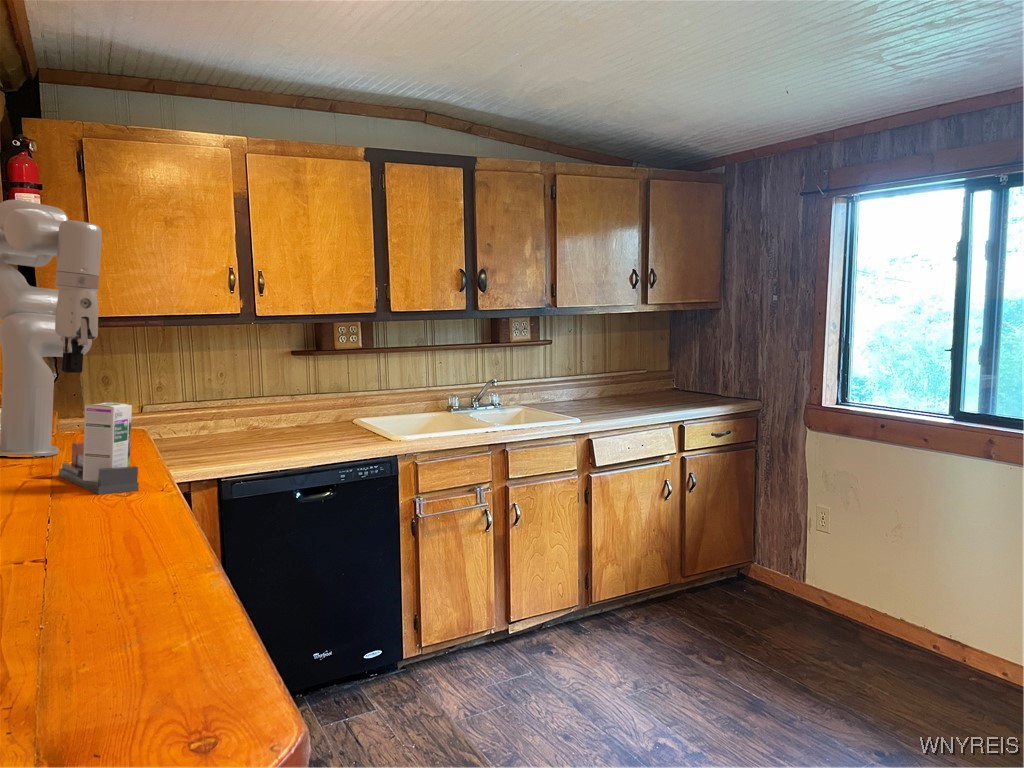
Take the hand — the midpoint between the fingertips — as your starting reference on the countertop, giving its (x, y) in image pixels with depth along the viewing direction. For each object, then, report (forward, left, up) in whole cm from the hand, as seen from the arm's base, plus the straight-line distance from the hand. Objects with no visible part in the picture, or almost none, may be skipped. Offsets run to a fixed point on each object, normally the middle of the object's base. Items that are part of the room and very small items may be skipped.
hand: (72, 371), depth 144 cm
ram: (+11, 0, -19) cm, 22 cm away
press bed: (+15, 0, -20) cm, 25 cm away
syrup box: (+19, 0, -19) cm, 27 cm away
